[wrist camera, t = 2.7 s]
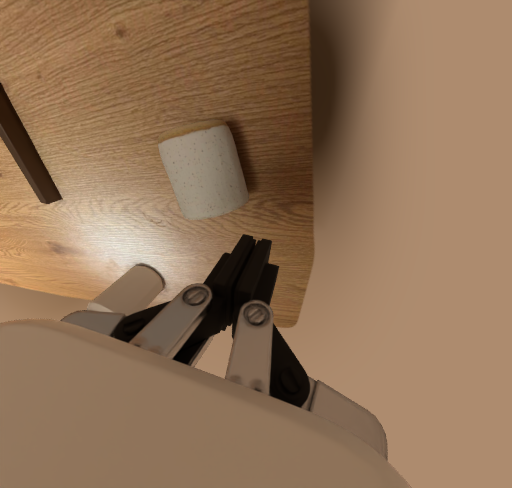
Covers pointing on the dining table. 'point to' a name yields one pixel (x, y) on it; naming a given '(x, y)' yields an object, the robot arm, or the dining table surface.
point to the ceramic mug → (203, 169)
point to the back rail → (25, 152)
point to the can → (129, 292)
